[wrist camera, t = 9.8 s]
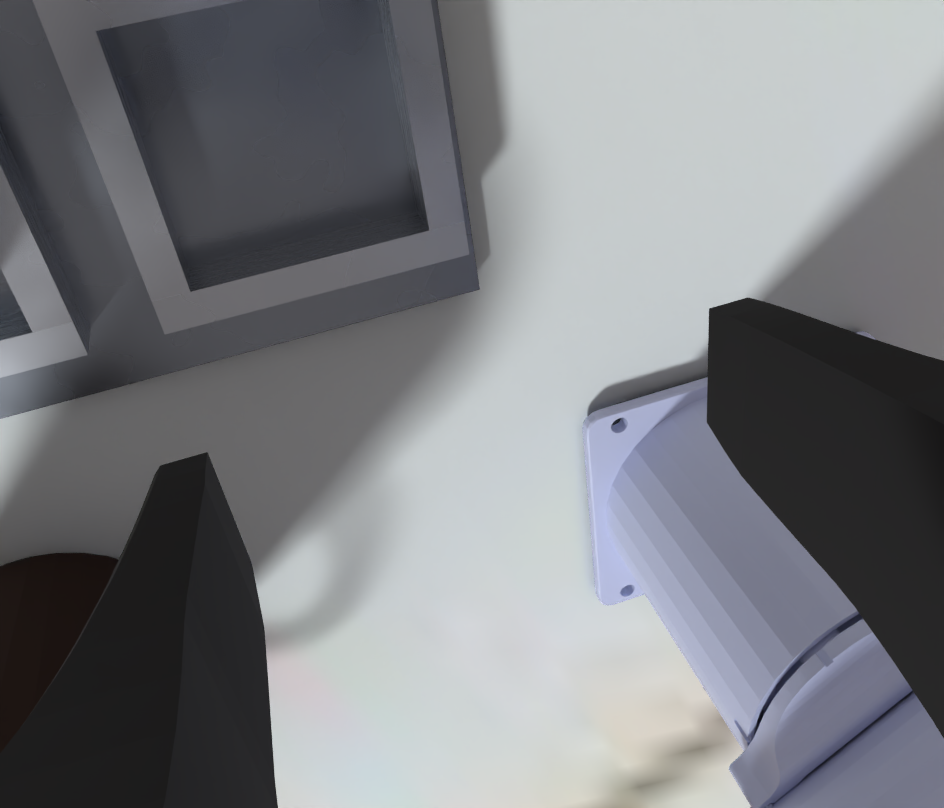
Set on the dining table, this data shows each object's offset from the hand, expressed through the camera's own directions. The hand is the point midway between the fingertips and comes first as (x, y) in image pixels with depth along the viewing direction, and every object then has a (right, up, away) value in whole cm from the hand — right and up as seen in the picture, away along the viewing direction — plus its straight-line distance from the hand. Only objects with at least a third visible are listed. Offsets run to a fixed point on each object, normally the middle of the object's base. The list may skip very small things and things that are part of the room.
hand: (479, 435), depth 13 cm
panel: (-8, +5, +6) cm, 12 cm away
